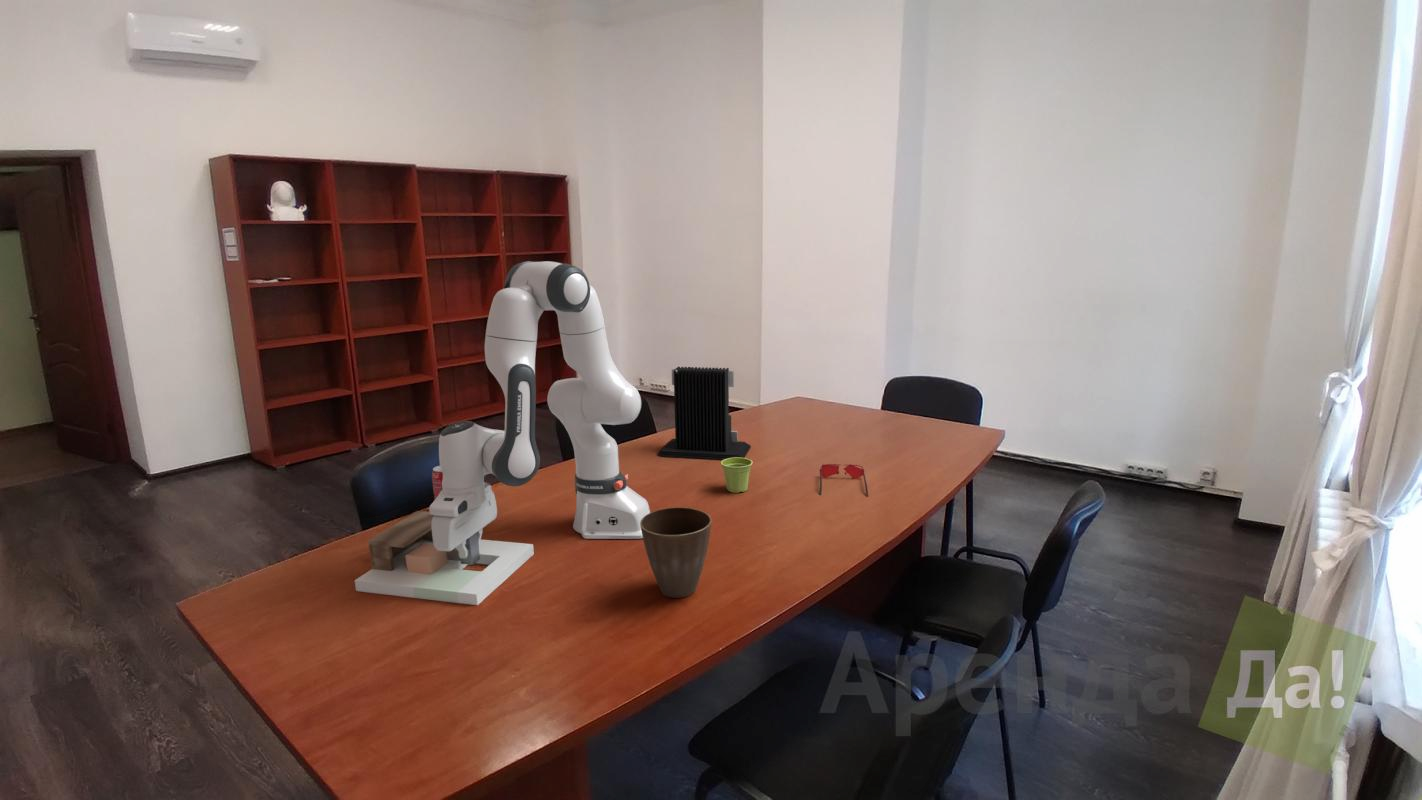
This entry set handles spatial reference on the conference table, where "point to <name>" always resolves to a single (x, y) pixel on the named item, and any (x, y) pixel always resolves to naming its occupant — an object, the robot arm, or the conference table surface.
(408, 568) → the terracotta block
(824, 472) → the glasses
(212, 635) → the conference table surface
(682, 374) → the black finned heatsink
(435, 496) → the soda can
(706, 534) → the plant pot
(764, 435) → the conference table surface
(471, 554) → the grey l-shaped bracket
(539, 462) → the robot arm
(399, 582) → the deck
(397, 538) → the stand
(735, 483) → the plant pot
